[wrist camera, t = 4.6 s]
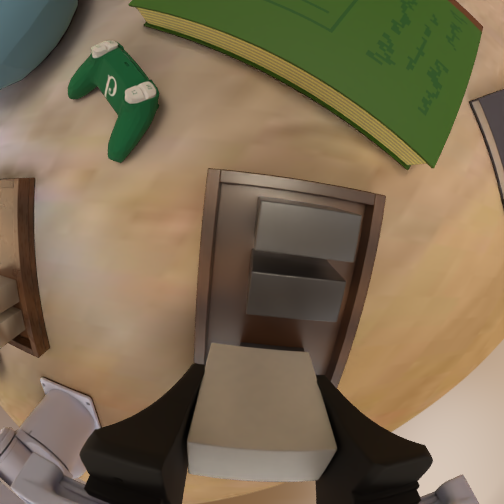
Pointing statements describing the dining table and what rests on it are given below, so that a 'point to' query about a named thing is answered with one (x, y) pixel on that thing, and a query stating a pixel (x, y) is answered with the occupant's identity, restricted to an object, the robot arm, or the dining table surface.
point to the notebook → (492, 130)
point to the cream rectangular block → (259, 417)
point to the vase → (30, 34)
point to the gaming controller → (118, 94)
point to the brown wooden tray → (19, 270)
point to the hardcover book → (348, 58)
